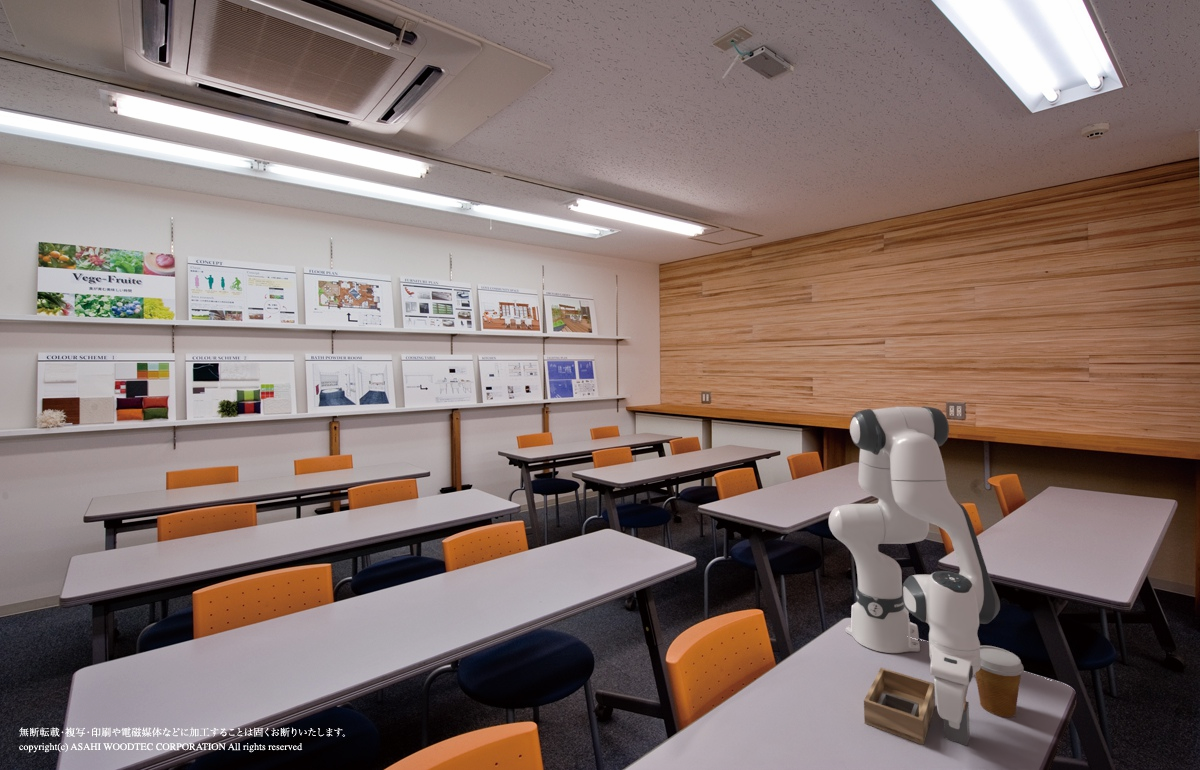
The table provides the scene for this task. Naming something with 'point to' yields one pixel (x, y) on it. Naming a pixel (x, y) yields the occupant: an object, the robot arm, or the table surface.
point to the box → (900, 705)
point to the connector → (961, 733)
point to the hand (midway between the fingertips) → (956, 719)
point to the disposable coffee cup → (998, 680)
